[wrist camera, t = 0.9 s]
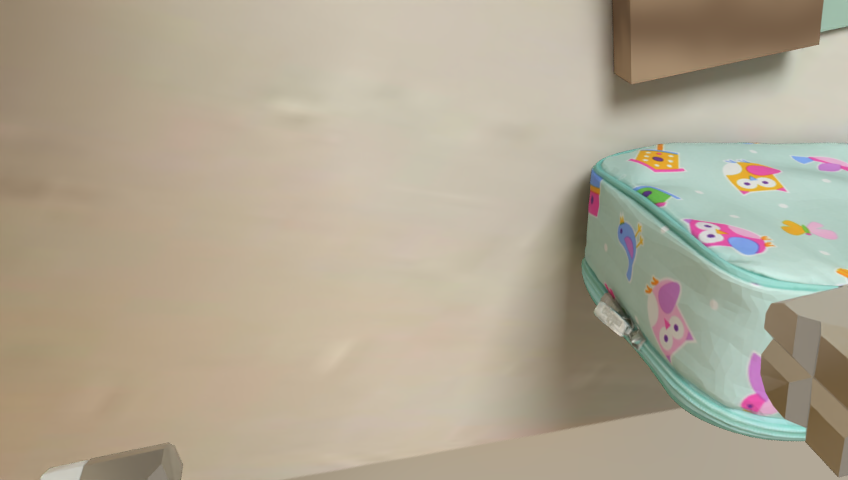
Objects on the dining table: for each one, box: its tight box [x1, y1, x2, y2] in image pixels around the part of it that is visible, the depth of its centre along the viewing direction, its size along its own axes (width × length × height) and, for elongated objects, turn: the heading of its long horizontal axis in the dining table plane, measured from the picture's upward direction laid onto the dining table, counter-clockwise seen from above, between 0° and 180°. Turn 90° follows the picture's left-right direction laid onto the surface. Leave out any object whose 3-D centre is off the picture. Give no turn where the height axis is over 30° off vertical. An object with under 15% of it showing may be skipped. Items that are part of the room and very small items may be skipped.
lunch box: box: [582, 143, 848, 441], centre depth 43 cm, size 27×10×21 cm, turn 86°
